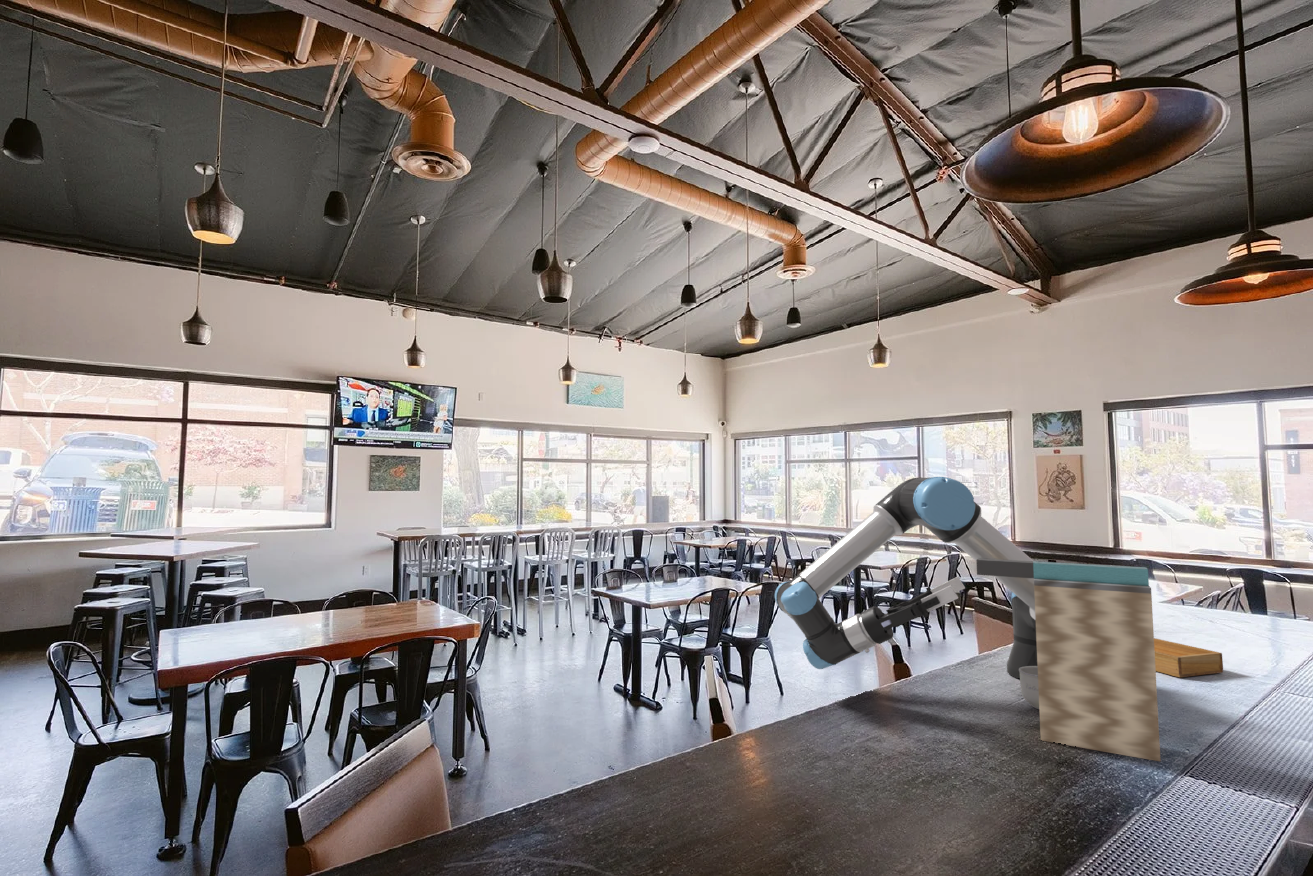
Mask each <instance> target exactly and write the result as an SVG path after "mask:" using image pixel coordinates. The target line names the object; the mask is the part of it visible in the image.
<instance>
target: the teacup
mask: <svg viewBox="0 0 1313 876" xmlns="http://www.w3.org/2000/svg"><path fill="white" fill-rule="evenodd" d="M1019 672H1020V679H1019V685H1020V692H1021V695H1022V697H1023V698H1024V700H1025V701H1026V702H1027V703H1028V704H1030V706H1032V708H1035V709H1037V710H1039V689H1038V666H1025V667H1021V668H1019Z"/></svg>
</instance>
